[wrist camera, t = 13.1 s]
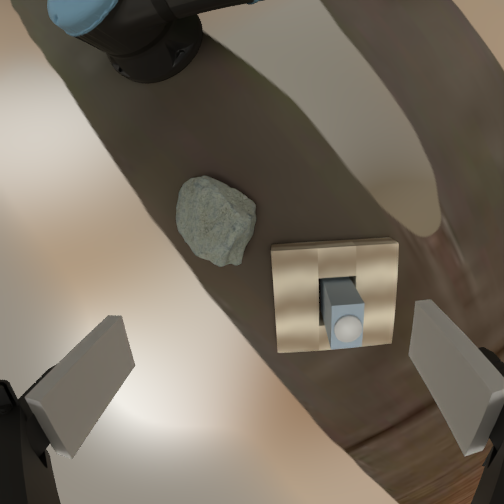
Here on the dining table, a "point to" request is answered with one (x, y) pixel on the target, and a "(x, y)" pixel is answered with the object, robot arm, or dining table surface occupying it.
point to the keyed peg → (342, 312)
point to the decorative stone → (215, 220)
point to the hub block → (328, 266)
